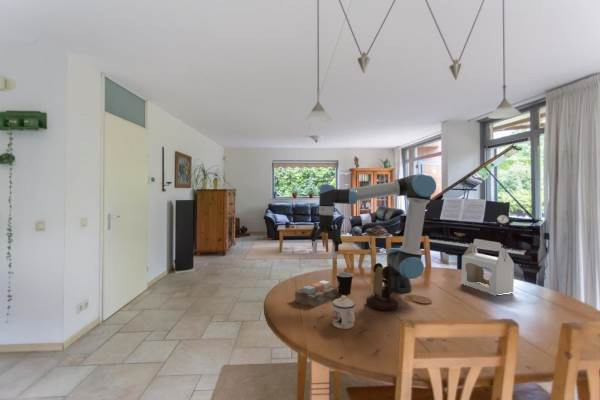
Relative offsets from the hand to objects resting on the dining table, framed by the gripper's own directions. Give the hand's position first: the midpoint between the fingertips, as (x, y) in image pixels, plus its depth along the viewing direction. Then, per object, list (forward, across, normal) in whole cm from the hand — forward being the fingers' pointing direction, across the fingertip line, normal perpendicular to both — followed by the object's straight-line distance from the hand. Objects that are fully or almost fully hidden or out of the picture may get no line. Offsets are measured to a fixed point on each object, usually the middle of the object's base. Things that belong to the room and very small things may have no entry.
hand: (324, 255), depth 149 cm
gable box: (+19, +57, +79) cm, 99 cm away
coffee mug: (+21, +4, +14) cm, 26 cm away
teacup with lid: (+22, +28, -19) cm, 40 cm away
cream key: (+19, 0, +1) cm, 19 cm away
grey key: (+19, +1, -11) cm, 22 cm away
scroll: (+21, +28, +11) cm, 37 cm away
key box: (+22, +1, -5) cm, 22 cm away
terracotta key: (+19, +1, -5) cm, 20 cm away
